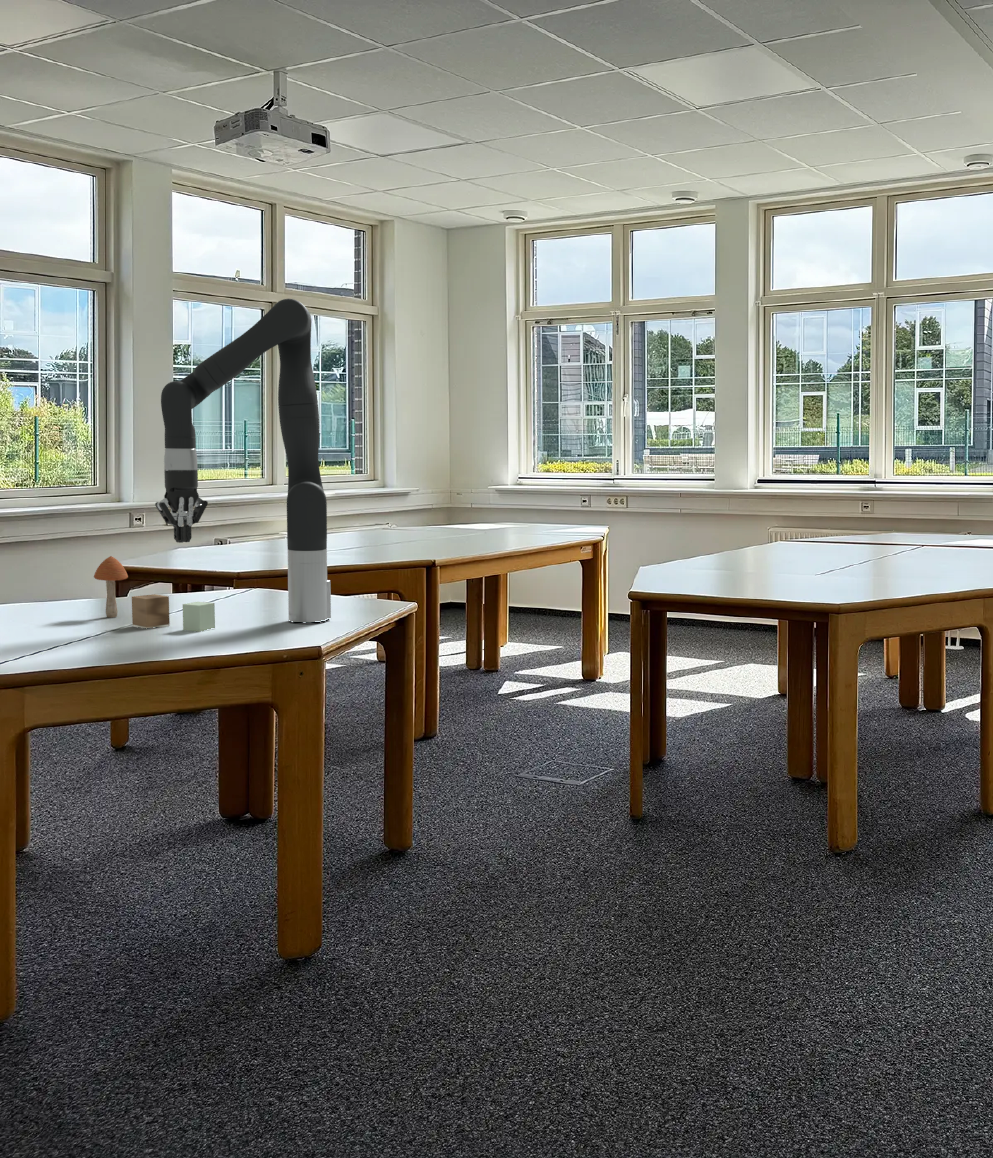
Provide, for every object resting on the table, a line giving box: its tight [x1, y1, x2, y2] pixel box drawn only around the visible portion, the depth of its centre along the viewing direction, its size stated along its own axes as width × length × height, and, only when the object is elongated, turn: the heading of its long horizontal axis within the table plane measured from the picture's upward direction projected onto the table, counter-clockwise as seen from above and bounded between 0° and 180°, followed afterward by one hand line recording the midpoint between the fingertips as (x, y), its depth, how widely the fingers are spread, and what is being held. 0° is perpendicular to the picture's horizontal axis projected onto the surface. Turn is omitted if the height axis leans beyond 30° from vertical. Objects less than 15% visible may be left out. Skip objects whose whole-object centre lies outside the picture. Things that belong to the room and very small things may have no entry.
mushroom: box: [93, 555, 129, 619], centre depth 286 cm, size 8×8×15 cm
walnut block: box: [131, 593, 171, 630], centre depth 273 cm, size 6×6×7 cm
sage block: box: [182, 601, 216, 633], centre depth 269 cm, size 5×5×6 cm
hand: (182, 542), depth 278 cm, fingers closed
